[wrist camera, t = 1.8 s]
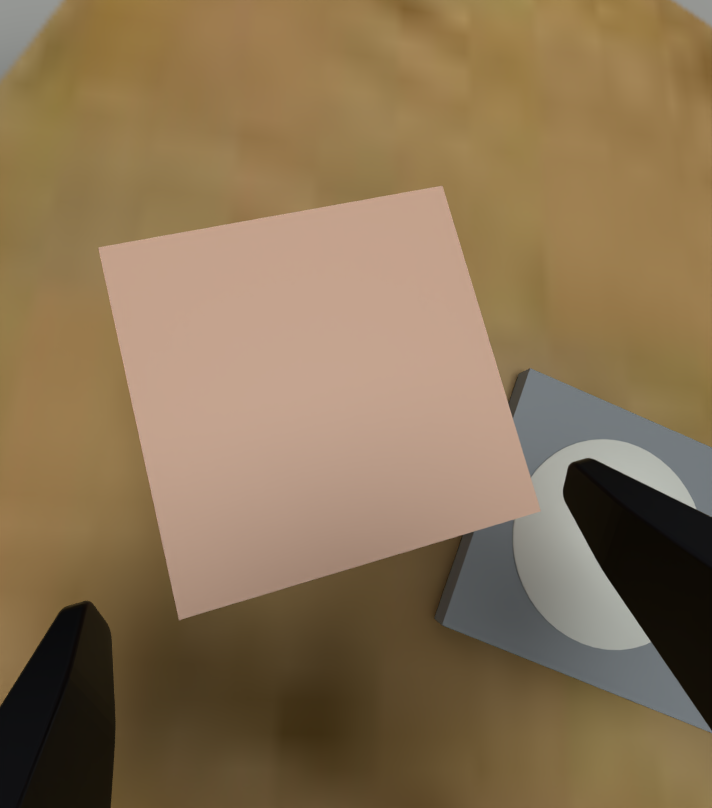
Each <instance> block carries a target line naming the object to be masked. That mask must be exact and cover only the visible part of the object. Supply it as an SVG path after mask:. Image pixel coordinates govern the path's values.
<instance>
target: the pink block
mask: <svg viewBox="0 0 712 808" xmlns="http://www.w3.org/2000/svg"><path fill="white" fill-rule="evenodd" d="M99 253H100V257H101V262H102V267H103V271H104V276H105V281H106V285H107V290H108V294H109V299H110V304H111V308H112V313H113V317H114V322H115V327H116V331H117V336H118V341H119V345H120V350H121V354H122V359H123V364H124V368H125V373H126V378H127V382H128V387H129V391H130V396H131V401H132V405H133V410H134V415H135V419H136V424H137V428H138V433H139V438H140V442H141V447H142V452H143V456H144V461H145V465H146V470H147V475H148V479H149V484H150V489H151V493H152V498H153V502H154V507H155V512H156V516H157V521H158V525H159V530H160V535H161V539H162V544H163V549H164V553H165V558H166V562H167V567H168V572H169V576H170V581H171V586H172V590H173V595H174V599H175V604H176V609H177V613H178V618H179V620H181V619H184V618H188V617H191V616H194V615H198V614H201V613H204V612H208V611H211V610H214V609H218V608H221V607H224V606H228V605H231V604H234V603H238V602H241V601H244V600H248V599H251V598H254V597H258V596H261V595H264V594H268V593H271V592H274V591H278V590H281V589H284V588H288V587H291V586H294V585H297V584H301V583H304V582H307V581H311V580H314V579H317V578H321V577H324V576H327V575H331V574H334V573H337V572H341V571H344V570H347V569H351V568H354V567H357V566H361V565H364V564H367V563H371V562H374V561H377V560H381V559H384V558H387V557H391V556H394V555H397V554H401V553H404V552H407V551H411V550H414V549H417V548H421V547H424V546H427V545H431V544H434V543H437V542H441V541H444V540H447V539H451V538H454V537H457V536H460V535H464V534H467V533H470V532H474V531H477V530H480V529H484V528H487V527H490V526H494V525H497V524H500V523H504V522H507V521H510V520H514V519H517V518H520V517H524V516H527V515H530V514H534V513H537V512H540V511H541V510H540V507H539V503H538V500H537V497H536V493H535V490H534V487H533V484H532V480H531V477H530V474H529V470H528V467H527V464H526V460H525V457H524V454H523V450H522V447H521V444H520V441H519V437H518V434H517V431H516V427H515V424H514V421H513V417H512V414H511V411H510V408H509V404H508V401H507V398H506V394H505V391H504V388H503V384H502V381H501V378H500V375H499V371H498V368H497V365H496V361H495V358H494V355H493V351H492V348H491V345H490V342H489V338H488V335H487V332H486V328H485V325H484V322H483V318H482V315H481V312H480V309H479V305H478V302H477V299H476V295H475V292H474V289H473V285H472V282H471V279H470V275H469V272H468V269H467V266H466V262H465V259H464V256H463V252H462V249H461V246H460V242H459V239H458V236H457V233H456V229H455V226H454V223H453V219H452V216H451V213H450V209H449V206H448V203H447V200H446V196H445V193H444V190H443V186H439V187H433V188H428V189H422V190H416V191H411V192H405V193H400V194H394V195H389V196H383V197H377V198H372V199H366V200H361V201H355V202H350V203H344V204H338V205H333V206H327V207H322V208H316V209H311V210H305V211H299V212H294V213H288V214H283V215H277V216H272V217H266V218H260V219H255V220H249V221H244V222H238V223H233V224H227V225H221V226H216V227H210V228H205V229H199V230H194V231H188V232H182V233H177V234H171V235H166V236H160V237H154V238H149V239H143V240H138V241H132V242H127V243H121V244H115V245H110V246H104V247H99Z"/></svg>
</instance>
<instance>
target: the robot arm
mask: <svg viewBox="0 0 712 808" xmlns="http://www.w3.org/2000/svg"><path fill="white" fill-rule="evenodd" d="M563 498H564V501H565V503H566V505H567V507H568V509H569V510H570V512H571V514H572V516H573V518H574V520H575V522H576V523H577V525H578V527H579V529H580V531H581V533H582V534H583V536H584V538H585V540H586V542H587V544H588V546H589V547H590V549H591V551H592V553H593V555H594V557H595V559H596V560H597V562H598V564H599V565H600V567H601V569H602V570H603V572H604V574H605V575H606V577H607V578H608V580H609V581H610V583H611V584H612V586H613V587H614V588H615V590H616V591H617V593H618V594H619V596H620V597H621V599H622V600H623V602H624V603H625V605H626V606H627V608H628V609H629V610H630V612H631V613H632V615H633V616H634V618H635V619H636V621H637V622H638V624H639V625H640V627H641V628H642V629H643V631H644V632H645V634H646V635H647V637H648V638H649V640H650V641H651V643H652V644H653V646H654V647H655V648H656V650H657V651H658V653H659V654H660V656H661V657H662V659H663V660H664V662H665V663H666V665H667V666H668V668H669V669H670V670H671V672H672V673H673V675H674V676H675V678H676V679H677V681H678V682H679V684H680V685H681V687H682V688H683V689H684V691H685V692H686V694H687V695H688V697H689V698H690V700H691V701H692V703H693V704H694V706H695V707H696V709H697V710H698V711H699V713H700V714H701V716H702V717H703V719H704V720H705V722H706V723H707V725H708V726H709V728H710V729H711V730H712V517H711V516H709V515H707V514H705V513H703V512H701V511H699V510H697V509H694V508H692V507H690V506H688V505H686V504H684V503H682V502H680V501H678V500H676V499H674V498H672V497H670V496H668V495H666V494H664V493H662V492H660V491H658V490H656V489H654V488H652V487H650V486H648V485H646V484H644V483H642V482H640V481H638V480H636V479H634V478H632V477H629V476H627V475H625V474H623V473H621V472H619V471H617V470H615V469H613V468H611V467H609V466H607V465H605V464H603V463H601V462H599V461H597V460H595V459H592V458H585V459H581V460H578V461H574V462H572V463H570V464H569V466H568V469H567V473H566V477H565V482H564V486H563ZM114 748H115V701H114V680H113V659H112V639H111V632H110V628H109V626H108V624H107V623H106V621H105V620H104V618H103V617H102V616H101V614H100V613H99V611H98V610H97V609H96V607H95V606H94V605H93V604H92V602H90V601H83V602H80V603H76V604H73V605H69V606H66V607H64V608H63V609H62V610H61V611H60V612H59V614H58V615H57V617H56V618H55V620H54V622H53V623H52V625H51V626H50V628H49V630H48V631H47V633H46V634H45V636H44V638H43V639H42V641H41V642H40V644H39V645H38V647H37V649H36V650H35V652H34V653H33V655H32V657H31V658H30V660H29V661H28V663H27V665H26V666H25V668H24V669H23V671H22V673H21V674H20V676H19V677H18V679H17V681H16V682H15V684H14V685H13V687H12V689H11V690H10V692H9V693H8V695H7V696H6V698H5V700H4V701H3V703H2V704H1V706H0V808H111V793H112V778H113V763H114Z"/></svg>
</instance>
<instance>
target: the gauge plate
mask: <svg viewBox="0 0 712 808" xmlns="http://www.w3.org/2000/svg"><path fill="white" fill-rule="evenodd" d="M509 408H510V411H511V414H512V417H513V421H514V424H515V427H516V431H517V434H518V437H519V441H520V444H521V447H522V450H523V454H524V457H525V460H526V464H527V467H528V470H529V474H530V477H531V480H532V484H533V487H534V490H535V493H536V497H537V500H538V503H539V507H540V510H541V511H540V512H537V513H534V514H530V515H527V516H524V517H520V518H517V519H514V520H510V521H507V522H504V523H500V524H497V525H494V526H490V527H487V528H484V529H480V530H477V531H474V532H470V533H467V534H464V535H463V537H462V539H461V542H460V545H459V548H458V551H457V554H456V557H455V560H454V563H453V565H452V568H451V571H450V574H449V577H448V580H447V583H446V586H445V588H444V591H443V594H442V597H441V600H440V603H439V606H438V609H437V612H436V614H435V617H434V619H436V620H437V621H438V622H439V623H440V624H441V625H443V626H445V627H448V628H450V629H453V630H455V631H458V632H460V633H463V634H465V635H468V636H470V637H473V638H475V639H478V640H480V641H483V642H485V643H488V644H490V645H493V646H495V647H498V648H500V649H503V650H505V651H508V652H510V653H513V654H515V655H518V656H520V657H523V658H525V659H528V660H530V661H533V662H535V663H538V664H540V665H543V666H545V667H548V668H550V669H553V670H555V671H558V672H561V673H563V674H566V675H568V676H571V677H573V678H576V679H578V680H581V681H583V682H586V683H588V684H591V685H593V686H596V687H598V688H601V689H603V690H606V691H608V692H611V693H613V694H616V695H618V696H621V697H623V698H626V699H628V700H631V701H633V702H636V703H638V704H641V705H643V706H646V707H648V708H651V709H653V710H656V711H658V712H661V713H663V714H666V715H668V716H671V717H673V718H676V719H678V720H681V721H683V722H686V723H688V724H691V725H693V726H696V727H698V728H701V729H703V730H706V731H708V732H711V733H712V730H711V729H710V728H709V726H708V725H707V723H706V722H705V720H704V719H703V717H702V716H701V714H700V713H699V711H698V710H697V709H696V707H695V706H694V704H693V703H692V701H691V700H690V698H689V697H688V695H687V694H686V692H685V691H684V689H683V688H682V687H681V685H680V684H679V682H678V681H677V679H676V678H675V676H674V675H673V673H672V672H671V670H670V669H669V668H668V666H667V665H666V663H665V662H664V660H663V659H662V657H661V656H660V654H659V653H658V651H657V650H656V648H655V647H654V646H653V644H652V643H651V641H650V640H649V638H648V637H647V635H646V634H645V632H644V631H643V629H642V628H641V627H640V625H639V624H638V622H637V621H636V619H635V618H634V616H633V615H632V613H631V612H630V610H629V609H628V608H627V606H626V605H625V603H624V602H623V600H622V599H621V597H620V596H619V594H618V593H617V591H616V590H615V588H614V587H613V586H612V584H611V583H610V581H609V580H608V578H607V577H606V575H605V574H604V572H603V570H602V569H601V567H600V565H599V564H598V562H597V560H596V559H595V557H594V555H593V553H592V551H591V549H590V547H589V546H588V544H587V542H586V540H585V538H584V536H583V534H582V533H581V531H580V529H579V527H578V525H577V523H576V522H575V520H574V518H573V516H572V514H571V512H570V510H569V509H568V507H567V505H566V503H565V501H564V498H563V486H564V482H565V477H566V473H567V469H568V466H569V464H570V463H572V462H574V461H578V460H581V459H585V458H592V459H595V460H597V461H599V462H601V463H603V464H605V465H607V466H609V467H611V468H613V469H615V470H617V471H619V472H621V473H623V474H625V475H627V476H629V477H632V478H634V479H636V480H638V481H640V482H642V483H644V484H646V485H648V486H650V487H652V488H654V489H656V490H658V491H660V492H662V493H664V494H666V495H668V496H670V497H672V498H674V499H676V500H678V501H680V502H682V503H684V504H686V505H688V506H690V507H692V508H694V509H697V510H699V511H701V512H703V513H705V514H707V515H709V516H711V517H712V448H711V447H709V446H707V445H705V444H702V443H700V442H698V441H695V440H693V439H691V438H689V437H686V436H684V435H682V434H679V433H677V432H675V431H673V430H670V429H668V428H666V427H663V426H661V425H659V424H657V423H654V422H652V421H650V420H647V419H645V418H643V417H641V416H638V415H636V414H634V413H631V412H629V411H627V410H625V409H622V408H620V407H618V406H615V405H613V404H611V403H609V402H606V401H604V400H602V399H599V398H597V397H595V396H592V395H590V394H588V393H586V392H583V391H581V390H579V389H576V388H574V387H572V386H570V385H567V384H565V383H563V382H560V381H558V380H556V379H554V378H551V377H549V376H547V375H544V374H542V373H540V372H538V371H535V370H533V369H531V368H530V369H528V370H526V371H524V372H522V373H520V374H519V375H518V378H517V381H516V384H515V387H514V390H513V393H512V395H511V398H510V401H509Z"/></svg>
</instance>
